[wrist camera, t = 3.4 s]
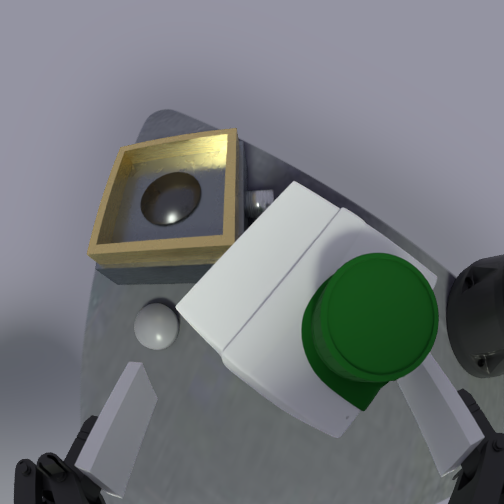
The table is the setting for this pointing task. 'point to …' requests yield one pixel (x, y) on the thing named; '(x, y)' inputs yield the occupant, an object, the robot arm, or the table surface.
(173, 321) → the grey round lid
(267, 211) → the soya milk
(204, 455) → the table surface
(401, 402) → the table surface
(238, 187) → the wooden rimmed tray
